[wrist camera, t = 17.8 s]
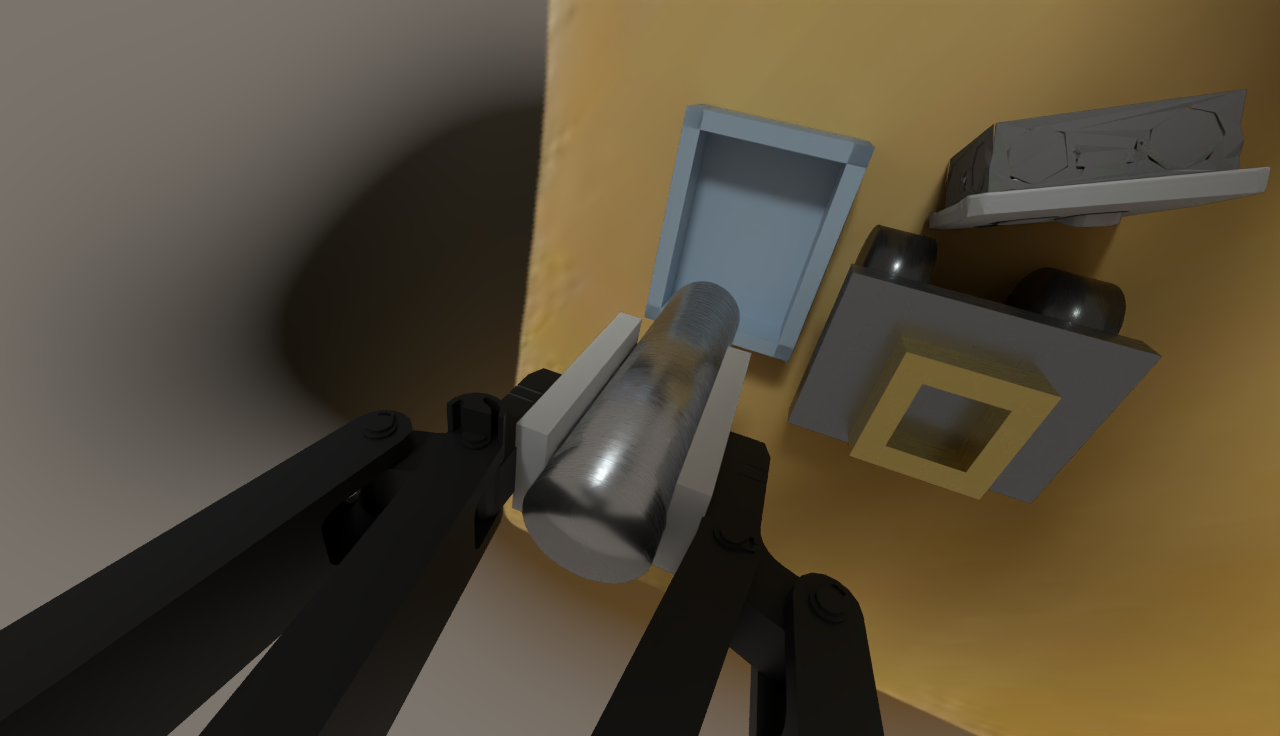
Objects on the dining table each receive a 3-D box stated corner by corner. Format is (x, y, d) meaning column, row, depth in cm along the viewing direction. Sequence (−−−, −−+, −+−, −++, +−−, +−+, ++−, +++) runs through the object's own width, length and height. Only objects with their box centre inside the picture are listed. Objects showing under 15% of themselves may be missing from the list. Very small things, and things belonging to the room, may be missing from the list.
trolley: (858, 211, 30) (870, 251, 22) (1112, 274, 27) (1221, 343, 20) (786, 387, 37) (776, 462, 29) (980, 450, 34) (1024, 549, 27)
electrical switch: (923, 228, 29) (963, 257, 21) (932, 134, 27) (980, 125, 19) (1124, 213, 26) (1262, 240, 18) (1150, 104, 24) (1318, 79, 16)
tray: (702, 104, 30) (686, 105, 26) (868, 141, 28) (874, 147, 24) (660, 296, 36) (644, 317, 33) (791, 336, 35) (788, 361, 31)
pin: (677, 272, 19) (526, 455, 10) (749, 293, 19) (668, 510, 9) (661, 336, 21) (519, 549, 11) (728, 357, 21) (640, 602, 11)
